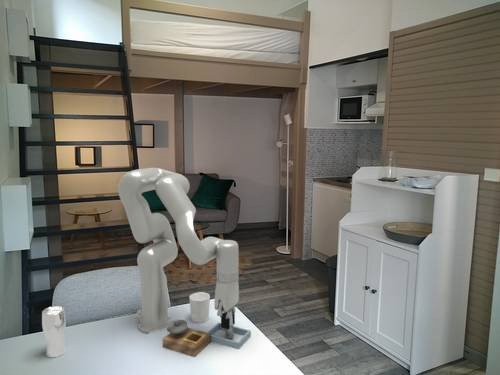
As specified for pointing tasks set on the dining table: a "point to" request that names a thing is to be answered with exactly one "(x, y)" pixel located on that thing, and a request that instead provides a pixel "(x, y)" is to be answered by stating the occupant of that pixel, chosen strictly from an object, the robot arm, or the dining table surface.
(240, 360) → the dining table surface
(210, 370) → the dining table surface
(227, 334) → the lock pin
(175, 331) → the block
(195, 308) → the white cup
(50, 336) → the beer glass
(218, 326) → the tray
